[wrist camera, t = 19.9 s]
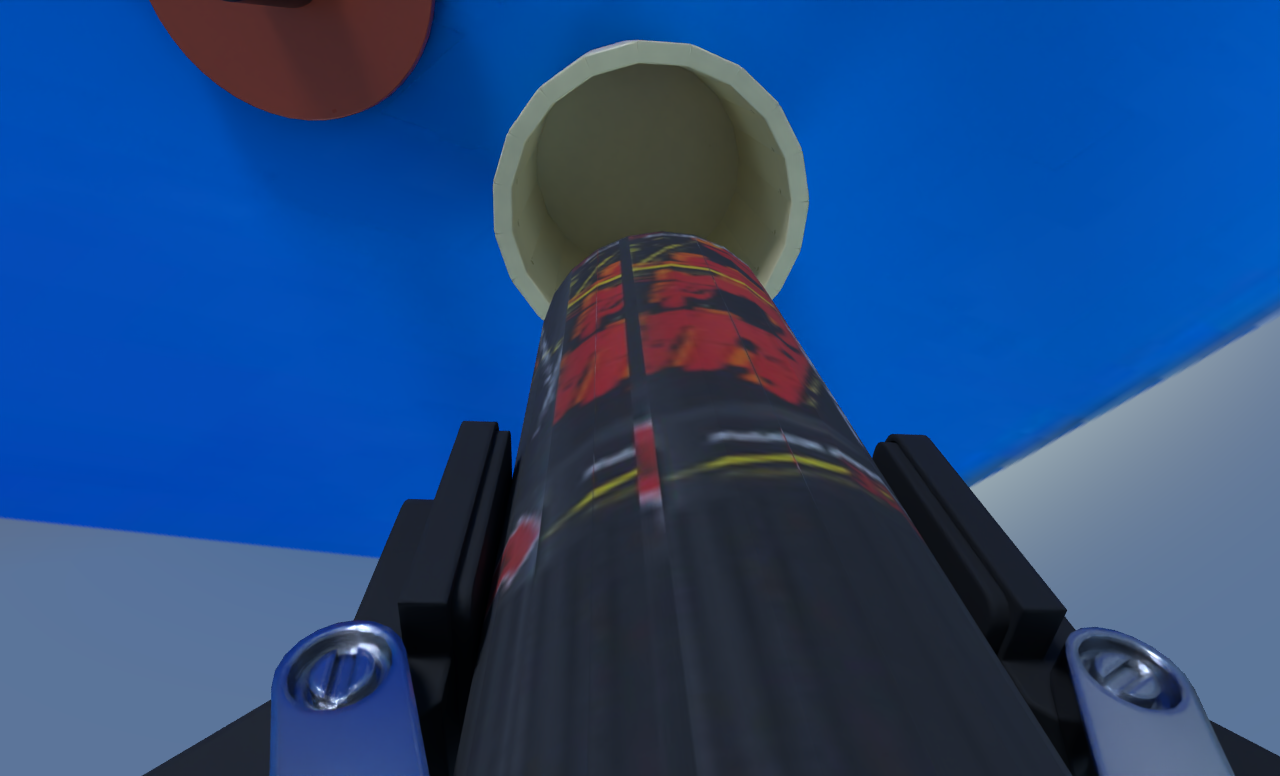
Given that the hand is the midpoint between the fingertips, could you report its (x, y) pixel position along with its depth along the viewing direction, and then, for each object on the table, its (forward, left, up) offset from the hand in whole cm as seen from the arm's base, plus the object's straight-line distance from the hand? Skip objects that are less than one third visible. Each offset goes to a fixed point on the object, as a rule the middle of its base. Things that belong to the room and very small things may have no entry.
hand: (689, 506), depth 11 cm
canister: (-1, -2, -23) cm, 23 cm away
